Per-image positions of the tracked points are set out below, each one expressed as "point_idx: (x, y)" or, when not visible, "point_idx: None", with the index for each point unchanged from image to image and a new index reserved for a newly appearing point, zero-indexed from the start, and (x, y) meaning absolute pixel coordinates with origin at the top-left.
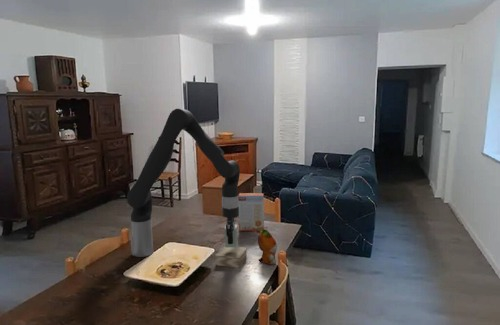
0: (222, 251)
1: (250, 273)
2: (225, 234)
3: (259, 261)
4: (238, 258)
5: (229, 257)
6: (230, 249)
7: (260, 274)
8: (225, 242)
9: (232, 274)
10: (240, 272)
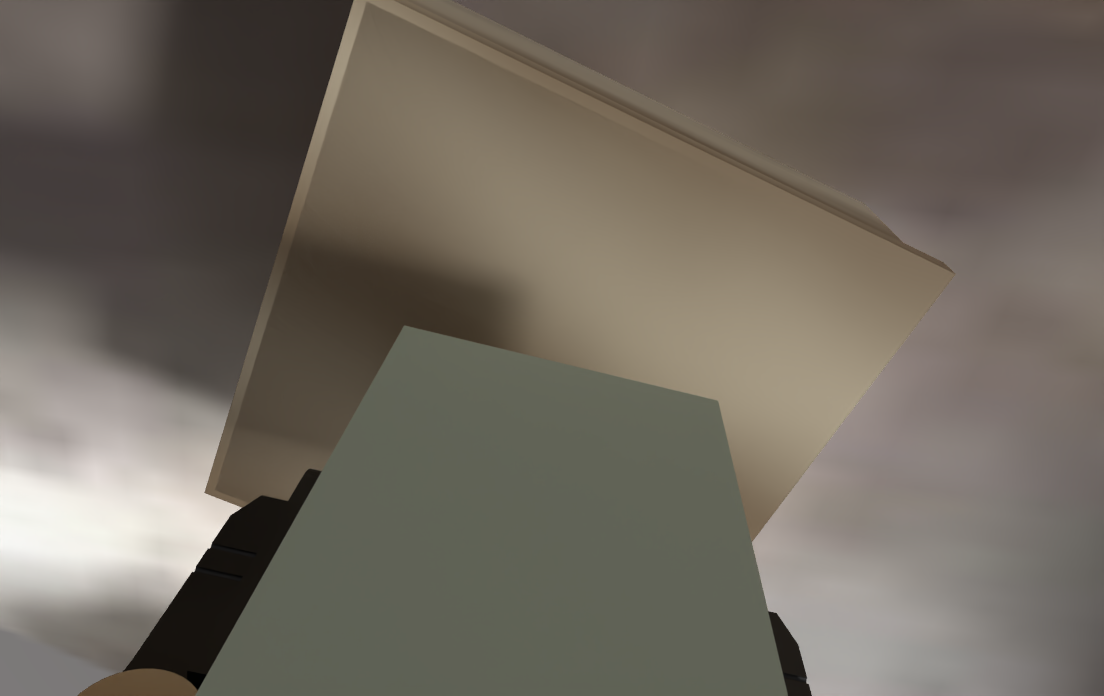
0: (568, 200)
1: (117, 493)
2: (231, 652)
3: None
4: (217, 468)
5: (261, 317)
6: None
7: (101, 590)
8: (355, 412)
9: (58, 256)
10: (136, 377)
